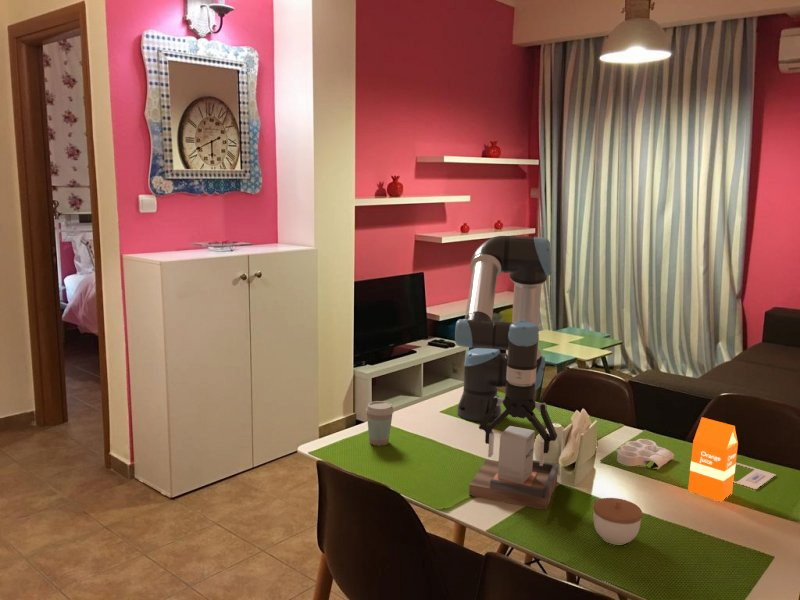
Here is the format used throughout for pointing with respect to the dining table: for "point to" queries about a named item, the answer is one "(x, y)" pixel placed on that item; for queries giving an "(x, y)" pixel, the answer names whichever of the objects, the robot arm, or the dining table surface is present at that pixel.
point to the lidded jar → (616, 520)
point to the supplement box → (516, 454)
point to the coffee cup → (379, 422)
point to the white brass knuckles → (643, 453)
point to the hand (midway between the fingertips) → (515, 459)
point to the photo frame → (755, 477)
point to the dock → (516, 485)
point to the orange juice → (713, 459)
